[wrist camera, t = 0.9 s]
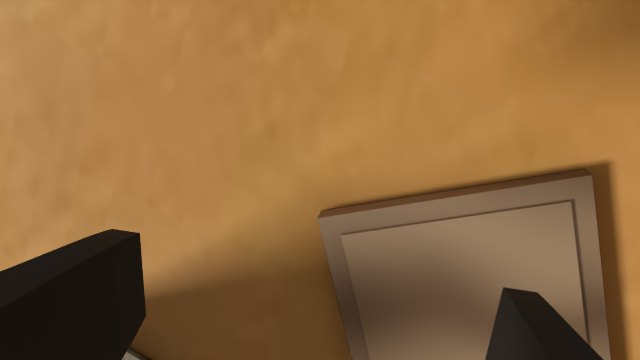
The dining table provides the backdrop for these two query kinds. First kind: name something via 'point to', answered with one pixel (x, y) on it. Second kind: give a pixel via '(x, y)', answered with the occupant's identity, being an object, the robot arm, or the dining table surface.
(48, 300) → the robot arm
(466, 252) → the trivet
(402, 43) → the dining table surface
